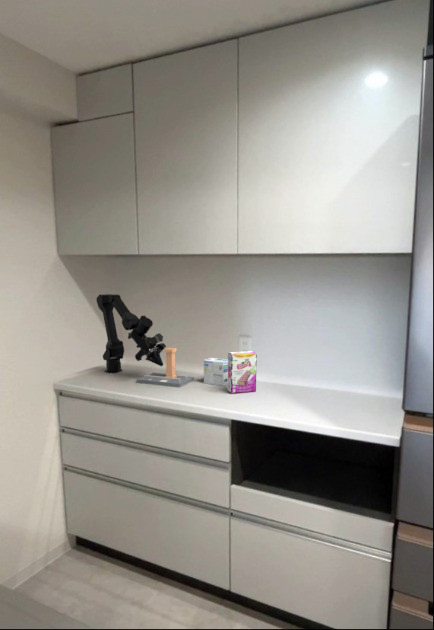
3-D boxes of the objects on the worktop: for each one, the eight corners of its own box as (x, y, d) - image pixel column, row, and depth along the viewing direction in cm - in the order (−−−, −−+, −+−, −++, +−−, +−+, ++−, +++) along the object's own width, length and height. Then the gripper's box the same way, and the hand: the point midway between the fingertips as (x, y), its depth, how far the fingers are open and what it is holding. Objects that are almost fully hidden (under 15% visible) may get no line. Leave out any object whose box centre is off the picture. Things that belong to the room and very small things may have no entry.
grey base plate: (136, 382, 195) (136, 376, 195) (153, 376, 208) (153, 370, 207) (179, 387, 186) (179, 381, 186) (194, 380, 199) (194, 374, 199)
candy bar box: (231, 394, 175) (231, 354, 173) (227, 391, 180) (227, 352, 178) (256, 391, 178) (257, 352, 177) (252, 388, 183) (252, 350, 182)
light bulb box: (231, 383, 193) (231, 359, 192) (223, 386, 187) (223, 361, 187) (211, 380, 199) (211, 357, 198) (203, 383, 193) (203, 359, 192)
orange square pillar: (164, 378, 195) (164, 349, 193) (169, 376, 198) (168, 347, 197) (172, 379, 193) (172, 349, 192) (176, 377, 197) (176, 348, 195)
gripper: (140, 330, 189) (162, 357, 186) (162, 326, 206) (183, 350, 203) (125, 347, 193) (147, 374, 190) (148, 341, 210) (168, 365, 207)
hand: (162, 365), depth 197 cm, fingers closed
